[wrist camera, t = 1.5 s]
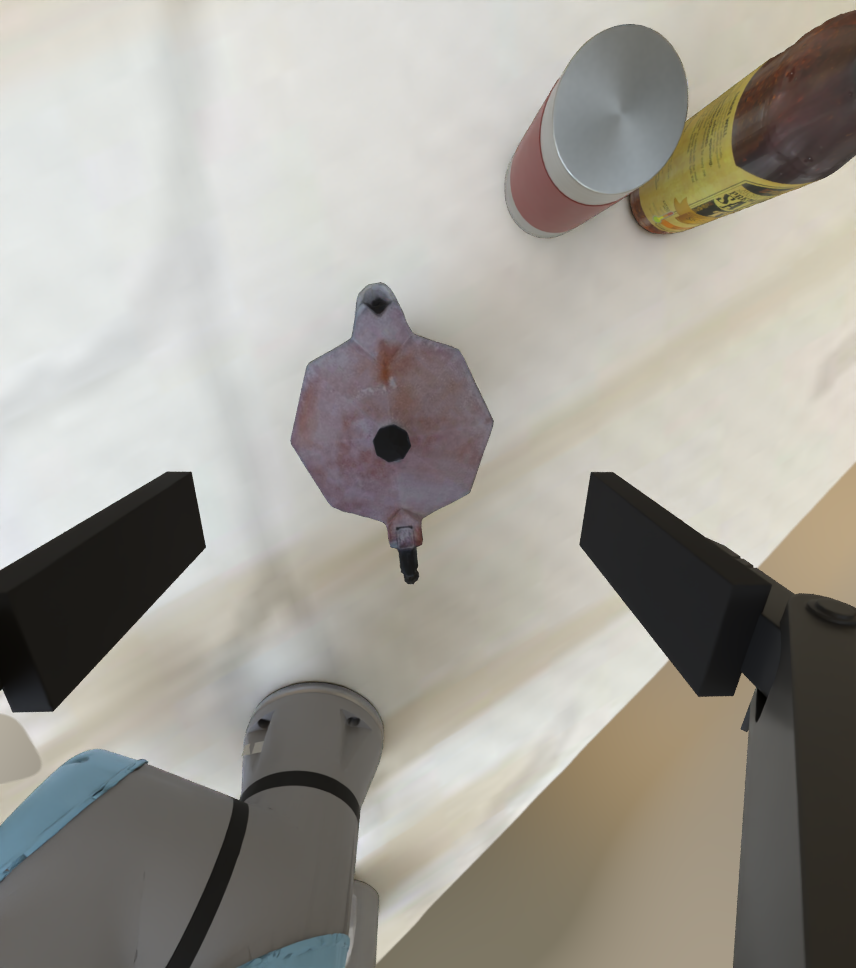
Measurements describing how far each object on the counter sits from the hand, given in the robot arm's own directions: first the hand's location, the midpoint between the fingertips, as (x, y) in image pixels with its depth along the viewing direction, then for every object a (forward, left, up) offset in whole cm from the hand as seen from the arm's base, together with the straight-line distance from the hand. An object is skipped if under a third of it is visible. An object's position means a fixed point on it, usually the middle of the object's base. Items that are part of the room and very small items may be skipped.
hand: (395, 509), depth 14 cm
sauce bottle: (+16, -20, -24) cm, 35 cm away
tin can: (+16, -11, -23) cm, 30 cm away
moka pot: (0, 0, -24) cm, 24 cm away
